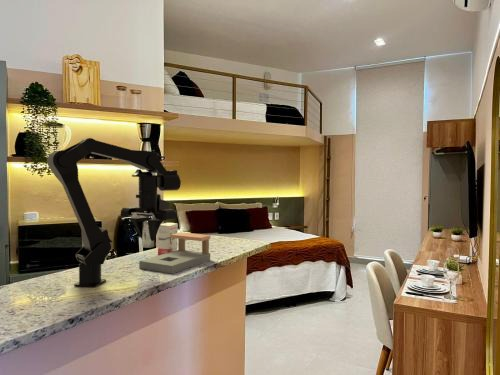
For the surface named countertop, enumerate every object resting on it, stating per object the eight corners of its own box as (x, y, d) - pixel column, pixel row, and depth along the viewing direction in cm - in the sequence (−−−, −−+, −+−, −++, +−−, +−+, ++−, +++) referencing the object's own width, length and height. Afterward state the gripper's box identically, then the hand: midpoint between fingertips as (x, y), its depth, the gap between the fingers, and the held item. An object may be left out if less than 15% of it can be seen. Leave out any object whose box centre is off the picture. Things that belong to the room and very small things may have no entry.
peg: (151, 247, 117) (151, 222, 117) (140, 247, 118) (140, 222, 117) (155, 245, 121) (155, 221, 120) (145, 245, 121) (145, 220, 121)
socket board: (172, 273, 120) (172, 245, 119) (139, 268, 126) (139, 241, 126) (210, 260, 139) (210, 235, 139) (180, 255, 146) (180, 232, 145)
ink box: (169, 255, 146) (169, 225, 145) (157, 255, 147) (157, 225, 146) (178, 251, 154) (178, 222, 154) (166, 250, 155) (166, 222, 155)
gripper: (187, 191, 121) (187, 238, 122) (144, 189, 130) (144, 234, 131) (164, 192, 111) (164, 244, 112) (119, 190, 120) (119, 239, 121)
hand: (148, 240), depth 119 cm, fingers closed on peg, 4 cm apart
